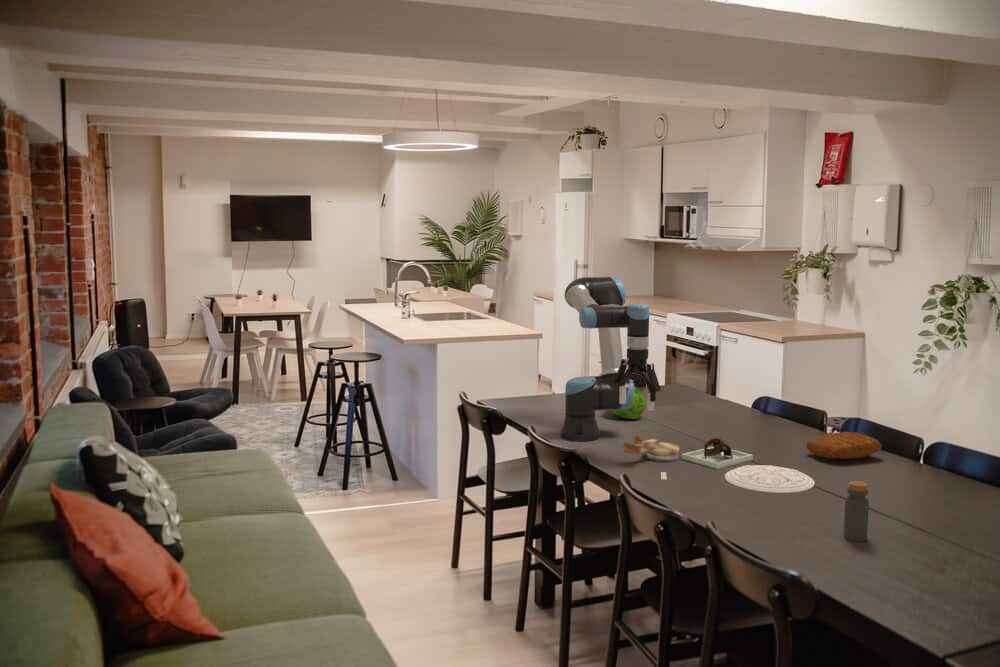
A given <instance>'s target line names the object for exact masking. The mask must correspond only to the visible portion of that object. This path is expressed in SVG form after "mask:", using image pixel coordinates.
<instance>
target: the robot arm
mask: <svg viewBox="0 0 1000 667" xmlns="http://www.w3.org/2000/svg"><path fill="white" fill-rule="evenodd" d="M564 290H565V291H564V300H565V302H566V304H568V305H569V307H571V308H573V309H575V310H576V311H577V313H579V314H578V315H579V316H578V320H579V326H580V327H581V328H582V329H589V330H592V329H597V330H598V340H599V342H598V343H599V352H600V353H599V354H600V364H601V373H600V374H599V375H598V380H597V379H596V377H595V376H593V375H592V376H590V375H589V376H578V377H573V378H570V379H569V380H567V381H566V382H565V390H564V394H565V404H564V405H565V410H564V412H565V416H564V421H563V424H562V426H561V427H562V428H561V430H560V438H562V439H564V440H566V441H572V442H590V441H591V442H592V441H595V440H598V439H600V429H599V426H598V422H597V419H596V411H612V410H620V409H628V408H629V407H630V406H631V405H632V402H633V398H634V386H635V383H634V380H633V379H631V378H630V377H631V376H632V375H639V377H640V378H642V380H643V383H644V384H645V385H646V388H647V389H648V391H647V396H646V397H647V398H646V399H647V400H646V408H647V410H646V411H648V412H650V411H651V412H652V411H655V402H656V398H657V394H656V393H658V392H660V391H662V388H661V386H660V382H659V379H658V377H657V373H656V370H655V364H654V363H653V362H652V363H647V362H648V359H649V349H648V348H649V346H650V345H649V338H650V336H649V332H650V306H649V304H647V303H630V304H628V305H625V303H626V289H625V285H624V283H623V281H622V279H621V278H619V277H615V276H614V277H613V276H601V277H599V276H598V277H596V276H595V277H594V276H589V277H587V276H586V277H580V278H576V279H574V280H572V281H571V282H570V283H568V285H567V286H566V288H565V289H564ZM621 328H625V329H626V328H627V329H626V330H627V332H626V338H627V339H626V347H627V349H626V358H623V348H622V347H623V346H622V336H621Z"/></svg>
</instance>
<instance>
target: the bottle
mask: <svg viewBox="0 0 1000 667" xmlns="http://www.w3.org/2000/svg"><path fill="white" fill-rule="evenodd" d="M868 485H869V484H868V483H866V482H865V481H861V480H860V481H859V480H851V481H848V488H847V491H846V493H847V494H848V496H846V497H845V501H844V503H845V504H844V523H843V537H844V538H845V539H846V540H849V541H853V542H865V541H866V540H868V531H869V530H868V529H869V508H870V501H869V499H868V498H867V497H866V496H868V495H869V490H868V489H867V488H868Z"/></svg>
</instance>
